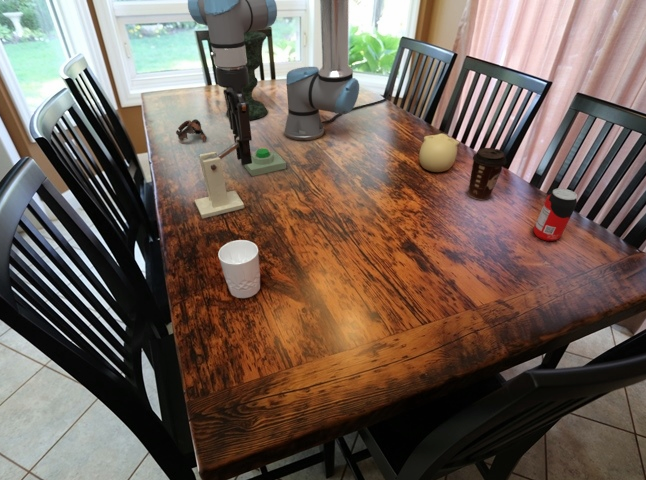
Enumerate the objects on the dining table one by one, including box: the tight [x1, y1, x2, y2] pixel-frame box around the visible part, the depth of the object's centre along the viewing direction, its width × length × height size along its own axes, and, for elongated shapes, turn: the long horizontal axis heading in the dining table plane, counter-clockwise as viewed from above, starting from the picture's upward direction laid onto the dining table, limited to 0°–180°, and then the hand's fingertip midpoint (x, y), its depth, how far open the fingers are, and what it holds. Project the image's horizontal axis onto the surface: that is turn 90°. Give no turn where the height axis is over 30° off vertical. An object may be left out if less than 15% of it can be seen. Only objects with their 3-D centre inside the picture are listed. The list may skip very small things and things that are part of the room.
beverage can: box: [533, 187, 578, 242], centre depth 92 cm, size 6×6×12 cm
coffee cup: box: [467, 147, 508, 201], centre depth 108 cm, size 9×8×13 cm
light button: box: [255, 148, 270, 158], centre depth 124 cm, size 4×4×2 cm
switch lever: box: [205, 136, 239, 161], centre depth 100 cm, size 13×3×3 cm, turn 116°
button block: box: [243, 150, 287, 177], centre depth 126 cm, size 12×10×4 cm
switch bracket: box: [194, 151, 246, 220], centre depth 104 cm, size 12×9×15 cm
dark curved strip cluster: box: [175, 118, 207, 143], centre depth 144 cm, size 12×10×8 cm
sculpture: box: [418, 133, 460, 173], centre depth 122 cm, size 12×12×11 cm
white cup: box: [217, 239, 261, 299], centre depth 79 cm, size 8×8×10 cm
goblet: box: [207, 30, 268, 121], centre depth 157 cm, size 22×23×30 cm
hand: (244, 160), depth 104 cm, fingers closed on switch lever, 3 cm apart
